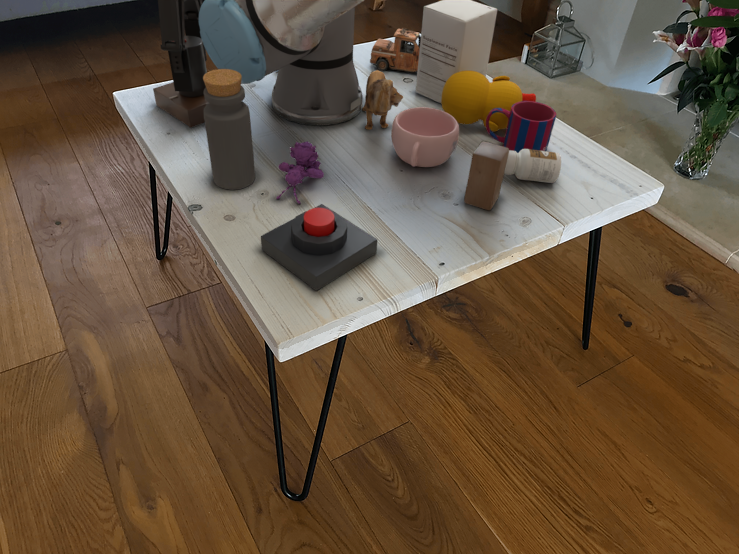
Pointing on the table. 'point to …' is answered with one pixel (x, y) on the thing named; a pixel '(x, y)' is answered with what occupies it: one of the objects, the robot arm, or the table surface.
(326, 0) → the robot arm
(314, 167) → the purple lumpy piece
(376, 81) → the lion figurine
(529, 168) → the pill bottle
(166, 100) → the dial panel
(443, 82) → the white product box
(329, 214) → the switch
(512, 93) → the toy
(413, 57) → the toy car
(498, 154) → the wooden block
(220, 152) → the bottle
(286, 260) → the switch base
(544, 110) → the cup
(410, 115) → the mug
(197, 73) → the dial
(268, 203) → the table surface
